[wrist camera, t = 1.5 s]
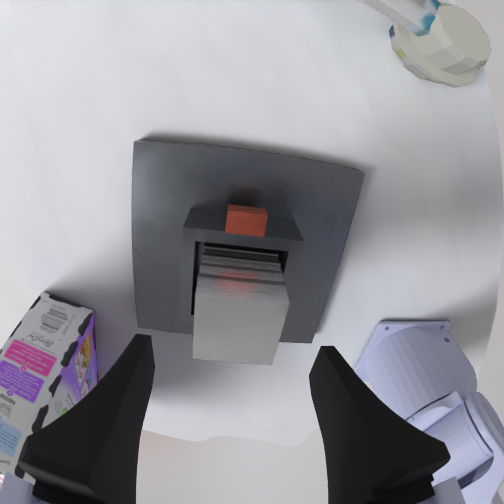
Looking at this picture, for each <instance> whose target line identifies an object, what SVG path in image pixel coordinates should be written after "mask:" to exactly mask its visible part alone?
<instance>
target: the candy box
mask: <svg viewBox="0 0 504 504" xmlns="http://www.w3.org/2000/svg"><path fill="white" fill-rule="evenodd" d="M97 383H98V371H97V358H96V346H95V333H94V310H91V309H88V308H85V307H83V306H80V305H77V304H74V303H71V302H68V301H65V300H63V299H60V298H58V297H55V296H53V295H50V294H47V293H44V292H42V293H41V294H40V296H39V297H38V298H37V300H36V301H35V302H34V304H33V305H32V306H31V308H30V309H29V310H28V312H27V313H26V314H25V316H24V317H23V318H22V320H21V321H20V323H19V324H18V325H17V327H16V328H15V330H14V331H13V332H12V334H11V335H10V337H9V338H8V340H7V341H6V343H5V344H4V346H3V347H2V349H1V350H0V482H1V483H3V479H4V476H5V472H9V473H11V474H13V475H15V476H17V477H19V478H21V479H23V480H25V481H27V482H29V483H31V484H33V485H35V481H36V480H35V479H34V478H33V477H31V476H30V475H29V474H28V473H26V472H25V471H24V470H23V469H22V468H21V467H20V466H19V465H18V463H17V462H18V459H19V455H20V452H21V449H22V447H23V444H24V442H25V440H26V438H27V436H29V435H31V434H33V433H34V432H36V431H38V430H40V429H42V428H43V427H45V426H47V425H48V424H50V423H51V422H53V421H54V420H56V419H57V418H59V417H60V416H61V415H63V414H64V413H66V412H67V411H68V410H69V409H71V408H72V407H73V406H74V405H75V404H77V403H78V402H79V401H80V400H81V399H82V398H83V397H85V396H86V395H87V394H88V393H89V392H90V391H91V390H92V389H93V388H94V387H95V386H96V385H97Z"/></svg>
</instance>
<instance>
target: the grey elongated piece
mask: <svg viewBox="0 0 504 504" xmlns="http://www.w3.org/2000/svg"><path fill="white" fill-rule="evenodd" d="M360 1H362V2H364V3H366V4H367V5H369V6H371V7H373V8H374V9H376V10H378V11H380V12H381V13H383V14H385V15H386V16H388V17H389V18H391V19H393V21H392V23H393V25H392V27H391V29H390V30H389V34H390V39H391V45H392V49H394V50H395V51H396V53H397V54H398V56H399V57H400V58H401V60H402V61H403V63H404V67H405V68H407V69H408V70H409V71H411V72H412V73H413V74H415V75H416V76H417V77H419V78H420V79H422V78H423V79H426V80H430V81H433V82H437V84H439V83H442V84H445V85H448V86H451V87H460V86H463V85H466V84H468V83H471V82H474V80H475V78H476V75H477V73H478V70H479V68H480V67H481V66H483V65H485V64H486V62H487V60H488V58H489V55H490V52H491V47H490V42H489V39H488V36H487V34H486V32H485V31H484V29H483V28H482V26H481V24H480V23H479V22H478V21H477V20H476V19H475V18H474V17H473V16H472V15H471V14H470V13H468V12H467V11H466V10H464V9H461V8H459V7H457V6H455V5H451V4H446V3H444V4H441V3H440V2H438V1H437V0H360Z"/></svg>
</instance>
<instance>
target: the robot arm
mask: <svg viewBox="0 0 504 504" xmlns="http://www.w3.org/2000/svg"><path fill="white" fill-rule="evenodd" d="M387 326H388V327H387ZM450 327H451V323H450V321H432V322H390V321H383V322H380V323H379V324H378V325H377V327H376V329H375V331H374V333H373V335H372V337H371V339H370V341H369V343H368V345H367V347H366V349H365V351H364V353H363V355H362V357H361V358H360V360H359V362H358V364H357V366H356V368H355V369H354V370H353V369H352V368H351V367H350V365H349V364H348V363H347V362H346V361H345V359H344V358H343V357H342V355H341V354H340V353H339V352H338V350H337V349H336V348H335V347H334V346H321V347H320V350H319V352H318V355H317V357H316V360H315V362H314V364H313V367H312V369H311V372H310V374H309V381H310V389H311V396H312V400H313V404H314V407H315V411H316V415H317V419H318V422H319V426H320V430H321V434H322V438H323V442H324V449H325V457H326V466H327V477H328V504H504V503H503V501H502V499H501V497H500V495H499V493H498V490H499V488H500V486H501V484H502V482H503V481H504V427H503V425H502V423H501V421H500V419H499V417H498V415H497V414H496V412H495V410H494V409H493V407H492V406H491V405H490V403H489V402H488V401H487V399H486V398H485V397H484V396H483V395H482V394H481V393H480V392H476V390H477V379H476V374H475V371H474V368H473V367H472V365H471V363H470V362H469V360H468V359H467V357H466V356H465V355H464V353H463V352H462V350H461V349H460V347H459V346H458V344H457V343H456V342H455V340H454V339H453V337H452V336H451V335H450V333H449V332H448V331H449V329H450ZM154 370H155V364H154V357H153V349H152V340H151V336H150V335H142V334H136V335H135V336H134V337H133V339H132V340H131V342H130V343H129V345H128V346H127V348H126V349H125V350H124V352H123V353H122V354H121V356H120V357H119V358H118V360H117V361H116V362H115V363H114V365H113V366H112V367H111V369H110V370H109V371H108V372H107V373H106V374H105V376H104V377H103V378H102V379H101V380H100V381H99V382H98V383H97V385H96V386H95V387H94V388H93V389H92V390H91V391H90V392H89V393H88V394H87V395H86V396H85V397H83V398H82V399H81V400H80V401H79V402H78V403H77V404H75V405H74V406H73V407H72V408H71V409H69V410H68V411H67V412H66V413H64V414H63V415H61V416H60V417H59V418H57V419H56V420H54V421H53V422H51V423H50V424H48V425H47V426H45V427H43V428H42V429H40V430H38V431H36V432H34V433H33V434H31V435H29V436H27V438H26V440H25V442H24V444H23V447H22V449H21V452H20V455H19V459H18V462H17V463H18V465H19V466H20V467H21V468H22V469H23V470H24V471H25V472H26V473H28V474H29V475H30V476H31V477H33V478H34V479H35V480H36V481H35V485H33V484H31V483H29V482H27V481H25V480H23V479H21V478H19V477H17V476H15V475H13V474H11V473H9V472H5V476H4V479H3V483H2V487H1V490H0V504H136V475H137V462H138V451H139V441H140V435H141V430H142V426H143V421H144V417H145V413H146V409H147V406H148V402H149V398H150V394H151V390H152V384H153V377H154ZM363 381H370V382H371V385H372V387H373V390H374V392H375V394H374V393H373V392H372V391H371V390H370V389H369V388H368V387H367V385H366V384H365V383H364V382H363Z"/></svg>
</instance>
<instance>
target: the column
mask: <svg viewBox="0 0 504 504" xmlns="http://www.w3.org/2000/svg"><path fill="white" fill-rule="evenodd" d="M280 265H281V262H280V261H279V260H278V253H277V252H276V250H272V249H263V248H254V247H246V246H237V245H228V244H219V243H210V242H205V244H204V249H203V253H202V260H201V262H200V270H199V273H198V278H197V288H196V294H195V310H194V332H193V359H202V360H211V361H222V362H234V363H248V364H265V365H272V363H273V359H274V356H275V353H276V349H277V346H278V342H279V339H280V336H281V332H282V329H283V325H284V322H285V318H286V314H287V311H288V307H289V304H290V303H289V299H288V295H287V291H286V282H284V279H283V271H281V268H280Z"/></svg>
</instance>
